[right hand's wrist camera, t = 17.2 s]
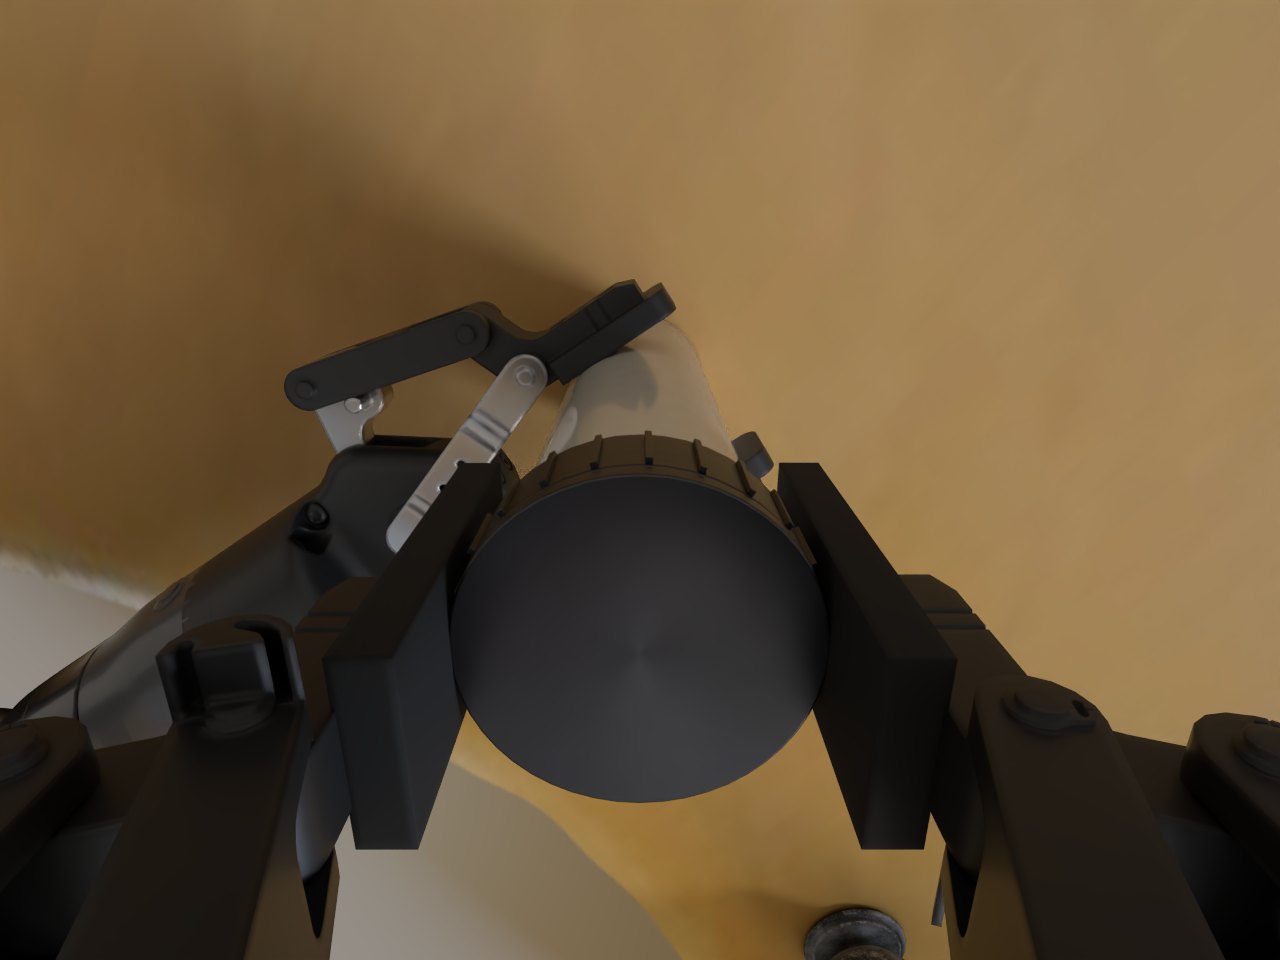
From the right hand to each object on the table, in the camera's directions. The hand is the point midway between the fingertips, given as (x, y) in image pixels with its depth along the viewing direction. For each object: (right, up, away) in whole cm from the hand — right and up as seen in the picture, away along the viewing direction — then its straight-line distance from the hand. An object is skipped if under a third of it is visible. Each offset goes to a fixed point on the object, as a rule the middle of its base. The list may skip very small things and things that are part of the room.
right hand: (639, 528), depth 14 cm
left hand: (+2, +4, +7) cm, 8 cm away
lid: (0, -1, -4) cm, 4 cm away
